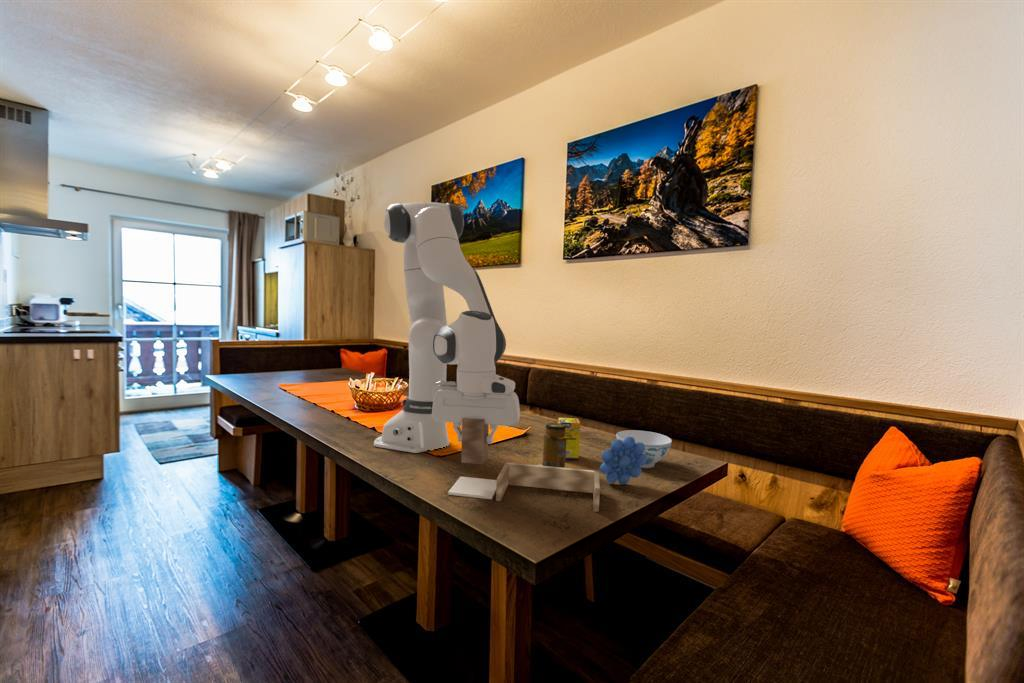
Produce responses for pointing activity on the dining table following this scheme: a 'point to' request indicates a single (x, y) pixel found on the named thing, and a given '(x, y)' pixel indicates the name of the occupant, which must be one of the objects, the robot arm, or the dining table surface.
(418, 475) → the dining table surface
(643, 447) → the grapes
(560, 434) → the condiment
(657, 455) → the chinaware
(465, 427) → the walnut block
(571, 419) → the supplement box
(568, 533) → the dining table surface
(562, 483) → the u-shaped barrier
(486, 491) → the coaster
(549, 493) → the dining table surface
